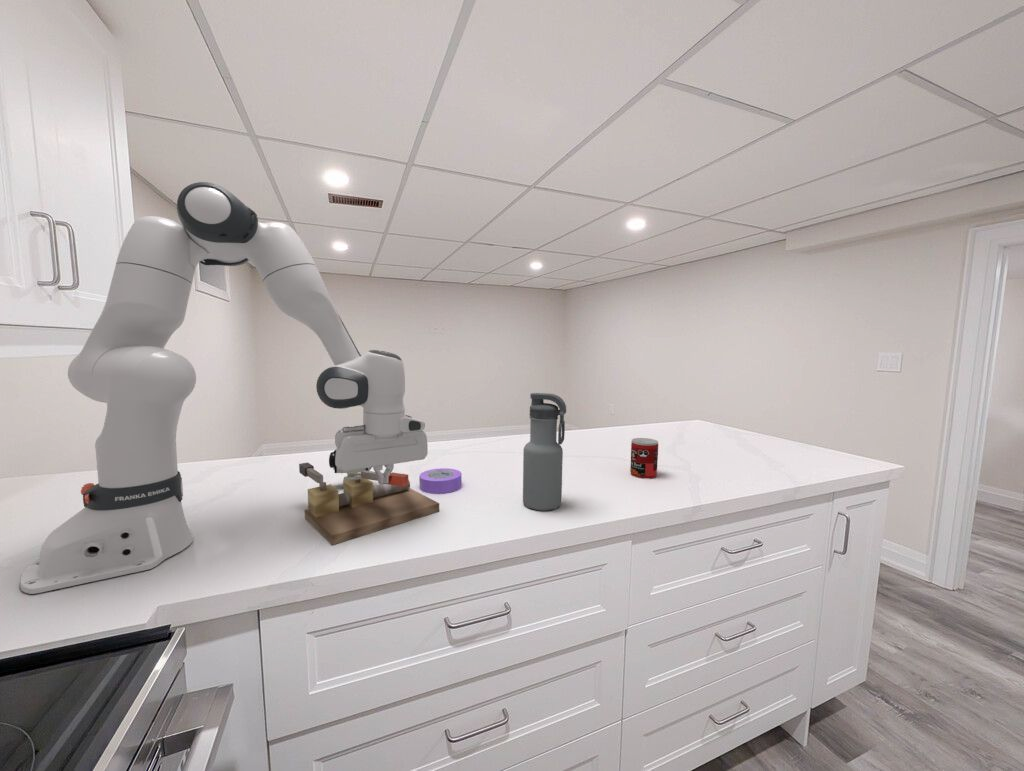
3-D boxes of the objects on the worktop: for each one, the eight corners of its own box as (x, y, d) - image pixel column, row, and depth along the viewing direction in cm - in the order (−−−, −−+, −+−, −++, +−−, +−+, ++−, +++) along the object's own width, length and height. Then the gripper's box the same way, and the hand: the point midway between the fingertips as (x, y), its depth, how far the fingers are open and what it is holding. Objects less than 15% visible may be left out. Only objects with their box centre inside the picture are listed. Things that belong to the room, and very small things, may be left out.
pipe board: (332, 545, 81) (330, 495, 80) (291, 505, 101) (290, 465, 100) (439, 511, 98) (439, 470, 97) (387, 482, 118) (386, 448, 117)
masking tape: (412, 486, 116) (411, 473, 116) (447, 477, 124) (447, 465, 123) (433, 498, 107) (433, 483, 107) (469, 488, 115) (469, 474, 115)
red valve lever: (403, 489, 92) (403, 477, 92) (352, 481, 97) (352, 469, 97) (408, 486, 94) (408, 474, 94) (358, 478, 99) (358, 467, 99)
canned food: (625, 472, 130) (626, 438, 129) (646, 470, 133) (648, 437, 132) (639, 480, 123) (641, 444, 122) (662, 477, 125) (663, 442, 124)
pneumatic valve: (373, 489, 113) (372, 446, 112) (329, 490, 112) (328, 447, 110) (378, 482, 118) (377, 441, 117) (336, 483, 117) (334, 442, 116)
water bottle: (565, 499, 107) (568, 392, 104) (559, 514, 97) (562, 397, 95) (527, 495, 110) (529, 391, 107) (518, 509, 100) (520, 395, 97)
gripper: (339, 430, 83) (339, 496, 84) (431, 422, 95) (430, 479, 97) (331, 425, 88) (331, 487, 89) (419, 417, 100) (418, 472, 102)
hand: (383, 483), depth 93 cm, fingers closed
